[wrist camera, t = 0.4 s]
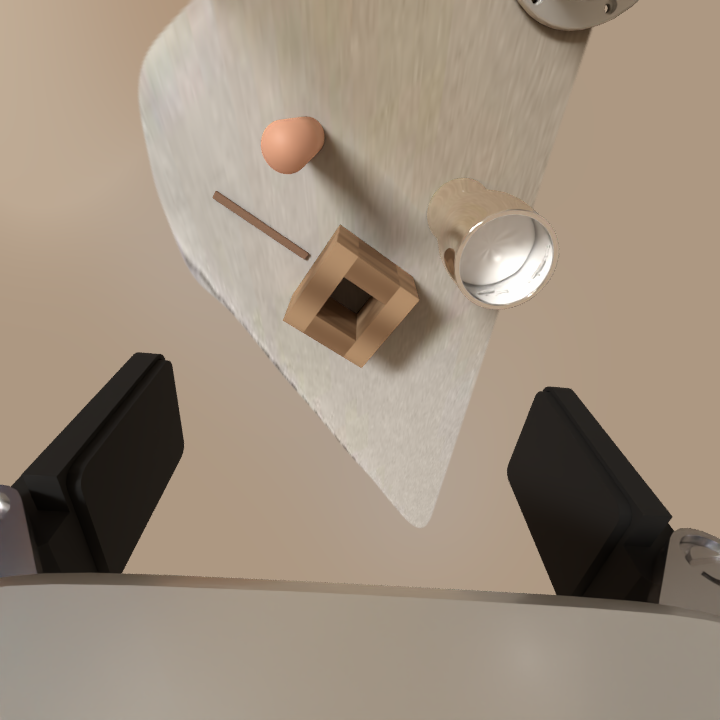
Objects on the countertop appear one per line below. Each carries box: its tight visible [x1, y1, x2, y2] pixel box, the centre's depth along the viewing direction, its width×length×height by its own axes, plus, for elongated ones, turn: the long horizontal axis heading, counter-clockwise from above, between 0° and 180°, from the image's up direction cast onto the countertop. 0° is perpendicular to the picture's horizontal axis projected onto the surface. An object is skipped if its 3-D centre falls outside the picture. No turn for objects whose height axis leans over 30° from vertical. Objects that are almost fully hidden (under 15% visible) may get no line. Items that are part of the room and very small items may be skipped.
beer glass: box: [427, 178, 559, 309], centre depth 32 cm, size 7×7×15 cm
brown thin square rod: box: [213, 191, 308, 260], centre depth 40 cm, size 1×10×1 cm, turn 55°
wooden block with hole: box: [283, 225, 419, 368], centre depth 40 cm, size 9×9×6 cm
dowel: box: [261, 117, 325, 174], centre depth 31 cm, size 3×3×12 cm
